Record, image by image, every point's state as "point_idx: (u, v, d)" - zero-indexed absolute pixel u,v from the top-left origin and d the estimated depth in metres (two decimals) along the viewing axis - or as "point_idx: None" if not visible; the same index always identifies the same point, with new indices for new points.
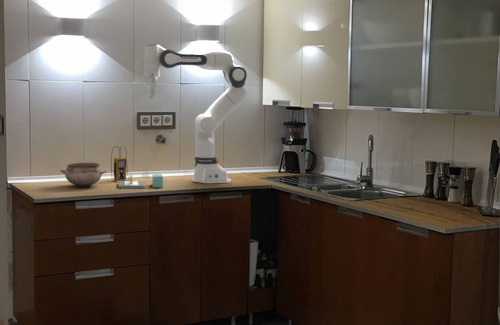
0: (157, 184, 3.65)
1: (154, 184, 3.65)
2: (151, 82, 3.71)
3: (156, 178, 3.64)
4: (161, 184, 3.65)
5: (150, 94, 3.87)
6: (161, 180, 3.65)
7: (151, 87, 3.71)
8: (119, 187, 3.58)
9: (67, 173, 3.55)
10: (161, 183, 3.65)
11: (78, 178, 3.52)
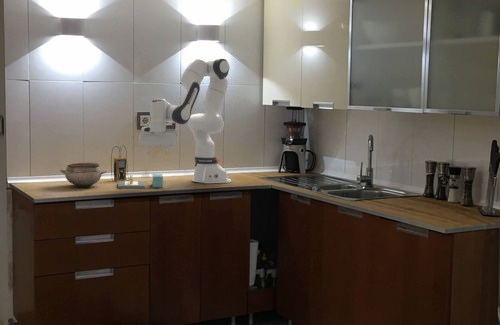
0: (157, 184, 3.65)
1: (154, 184, 3.65)
2: (175, 138, 3.68)
3: (156, 178, 3.64)
4: (161, 184, 3.65)
5: None
6: (161, 180, 3.65)
7: None
8: (119, 187, 3.58)
9: (67, 173, 3.55)
10: (161, 183, 3.65)
11: (78, 178, 3.52)
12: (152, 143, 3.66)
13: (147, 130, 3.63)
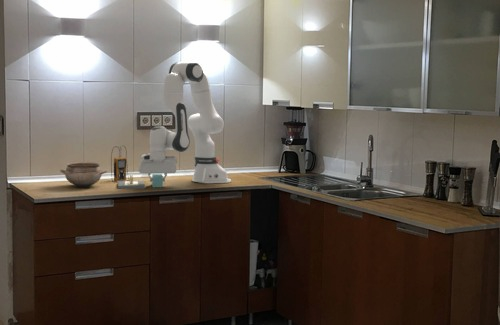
0: (157, 184, 3.65)
1: (154, 184, 3.65)
2: (175, 165, 3.70)
3: (156, 178, 3.64)
4: (161, 184, 3.65)
5: (150, 177, 3.69)
6: (161, 180, 3.65)
7: None
8: (119, 187, 3.58)
9: (67, 173, 3.55)
10: (161, 183, 3.65)
11: (78, 178, 3.52)
12: (152, 171, 3.67)
13: (147, 158, 3.65)
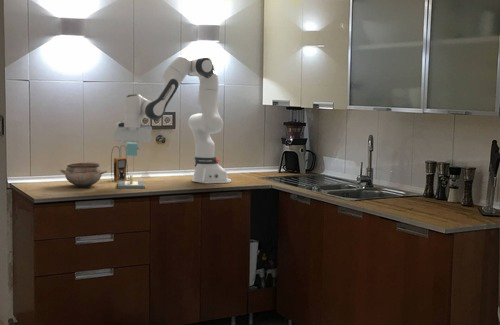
0: (131, 152, 3.60)
1: (128, 152, 3.60)
2: (150, 133, 3.66)
3: (130, 146, 3.60)
4: (135, 152, 3.61)
5: None
6: (135, 148, 3.60)
7: None
8: (119, 187, 3.58)
9: (67, 173, 3.55)
10: (135, 151, 3.60)
11: (78, 178, 3.52)
12: (126, 139, 3.63)
13: (121, 125, 3.60)
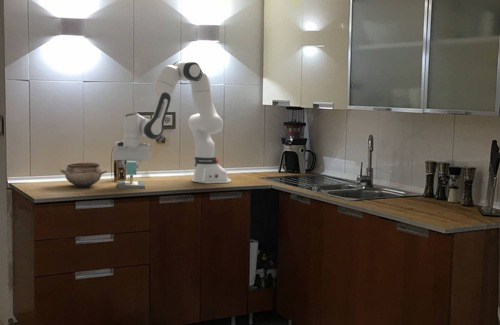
0: (131, 171, 3.61)
1: (128, 171, 3.61)
2: (149, 152, 3.67)
3: (130, 165, 3.61)
4: (135, 171, 3.62)
5: (124, 164, 3.66)
6: (135, 167, 3.62)
7: None
8: (119, 187, 3.58)
9: (67, 173, 3.55)
10: (135, 170, 3.62)
11: (78, 178, 3.52)
12: (126, 158, 3.64)
13: (120, 145, 3.61)
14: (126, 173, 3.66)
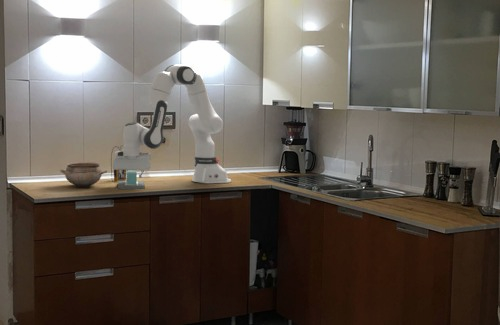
0: (131, 181, 3.62)
1: (128, 181, 3.62)
2: (149, 161, 3.67)
3: (130, 175, 3.62)
4: (135, 181, 3.63)
5: (122, 174, 3.66)
6: (135, 177, 3.62)
7: None
8: (119, 187, 3.58)
9: (67, 173, 3.55)
10: (135, 180, 3.62)
11: (78, 178, 3.52)
12: (126, 167, 3.65)
13: (120, 154, 3.62)
14: None
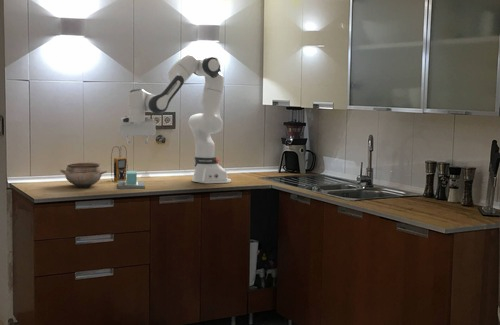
0: (131, 181, 3.62)
1: (128, 181, 3.62)
2: None
3: (130, 175, 3.62)
4: (135, 181, 3.63)
5: None
6: (135, 177, 3.62)
7: (155, 132, 3.70)
8: (119, 187, 3.58)
9: (67, 173, 3.55)
10: (135, 180, 3.62)
11: (78, 178, 3.52)
12: (132, 133, 3.67)
13: (126, 121, 3.64)
14: None
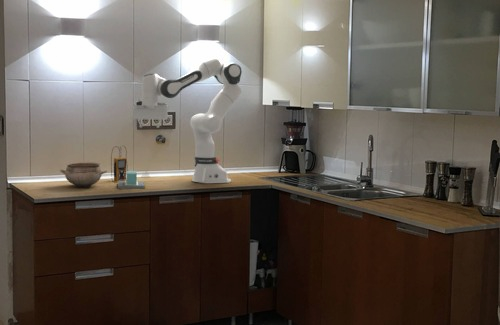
0: (131, 181, 3.62)
1: (128, 181, 3.62)
2: None
3: (130, 175, 3.62)
4: (135, 181, 3.63)
5: (140, 123, 3.78)
6: (135, 177, 3.62)
7: (167, 116, 3.80)
8: (119, 187, 3.58)
9: (67, 173, 3.55)
10: (135, 180, 3.62)
11: (78, 178, 3.52)
12: (144, 116, 3.77)
13: (139, 104, 3.74)
14: None
